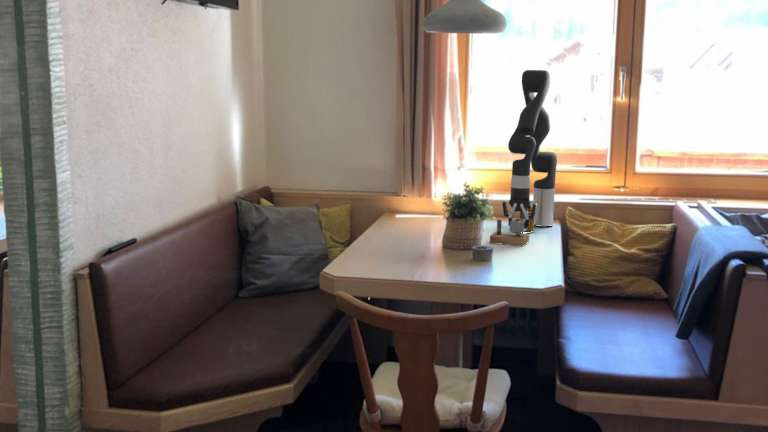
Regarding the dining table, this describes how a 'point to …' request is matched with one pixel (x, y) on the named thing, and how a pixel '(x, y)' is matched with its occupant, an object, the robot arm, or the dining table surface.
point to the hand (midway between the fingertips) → (518, 227)
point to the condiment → (531, 225)
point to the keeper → (508, 236)
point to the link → (517, 225)
